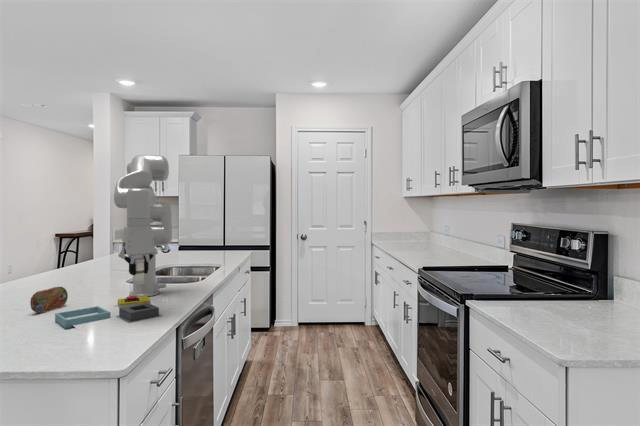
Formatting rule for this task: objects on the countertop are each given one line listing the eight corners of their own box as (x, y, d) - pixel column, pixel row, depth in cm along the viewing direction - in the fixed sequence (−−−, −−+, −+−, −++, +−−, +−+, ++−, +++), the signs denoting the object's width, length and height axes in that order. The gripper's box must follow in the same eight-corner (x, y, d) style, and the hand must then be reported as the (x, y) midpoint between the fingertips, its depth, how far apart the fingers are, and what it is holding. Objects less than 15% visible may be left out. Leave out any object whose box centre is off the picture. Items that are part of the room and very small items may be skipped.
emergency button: (113, 296, 165) (153, 292, 172) (113, 307, 165) (153, 302, 173) (114, 301, 157) (156, 297, 164) (114, 312, 157) (156, 307, 164)
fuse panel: (148, 312, 156) (148, 301, 156) (162, 318, 148) (162, 307, 147) (115, 318, 147) (115, 307, 147) (128, 325, 139) (128, 314, 139)
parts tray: (98, 314, 153) (98, 306, 153) (110, 320, 145) (110, 312, 145) (55, 321, 143) (55, 313, 143) (65, 329, 135) (65, 320, 135)
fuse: (142, 282, 150) (141, 257, 150) (146, 283, 147) (146, 258, 147) (131, 283, 147) (131, 258, 147) (135, 285, 145) (135, 260, 144)
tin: (35, 315, 151) (35, 292, 151) (28, 315, 152) (28, 292, 152) (68, 305, 166) (68, 284, 166) (61, 305, 166) (61, 284, 166)
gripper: (156, 221, 155) (156, 269, 156) (109, 223, 143) (110, 275, 144) (165, 222, 150) (165, 272, 151) (118, 224, 138) (118, 278, 138)
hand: (138, 273), depth 147 cm, fingers closed on fuse, 3 cm apart
